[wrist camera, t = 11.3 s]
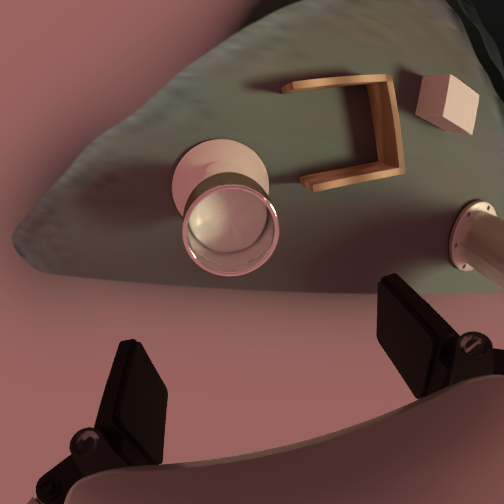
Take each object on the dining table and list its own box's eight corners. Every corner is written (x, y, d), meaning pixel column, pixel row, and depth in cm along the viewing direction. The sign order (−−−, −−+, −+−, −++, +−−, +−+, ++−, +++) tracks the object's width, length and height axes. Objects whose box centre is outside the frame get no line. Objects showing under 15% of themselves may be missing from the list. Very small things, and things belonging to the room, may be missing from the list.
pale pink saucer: (257, 129, 33) (257, 129, 32) (276, 219, 37) (277, 220, 37) (161, 153, 32) (160, 154, 32) (187, 242, 37) (187, 243, 36)
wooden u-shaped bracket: (370, 78, 31) (391, 74, 27) (383, 166, 36) (405, 173, 31) (280, 87, 31) (292, 81, 26) (300, 183, 36) (313, 192, 31)
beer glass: (193, 219, 35) (184, 282, 22) (189, 159, 32) (174, 184, 19) (253, 215, 36) (281, 275, 22) (252, 155, 33) (283, 179, 19)
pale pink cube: (414, 114, 34) (442, 116, 28) (422, 76, 32) (450, 73, 26) (444, 130, 35) (472, 135, 29) (451, 94, 33) (479, 95, 27)
